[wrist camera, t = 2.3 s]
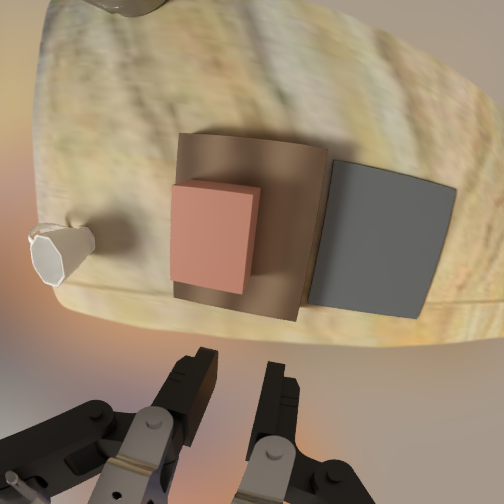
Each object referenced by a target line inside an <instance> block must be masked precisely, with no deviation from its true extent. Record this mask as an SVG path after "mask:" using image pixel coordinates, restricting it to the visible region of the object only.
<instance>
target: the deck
mask: <svg viewBox="0 0 504 504" xmlns="http://www.w3.org/2000/svg"><path fill="white" fill-rule="evenodd" d="M326 156H327V148H321V147H315V146H309V145H302V144H296V143H289V142H281V141H273V140H265V139H256V138H246V137H235V136H223V135H208V134H189V133H179V140H178V152H177V167H176V184H177V183H180V182H183V181H186V180H189V179H191V180H201V181H210V182H219V183H228V184H236V185H244V186H251V187H259V188H261V191H260V199H259V208H258V216H257V225H256V233H255V242H254V250H253V259H252V267H251V276H250V278H249V280H248V283H247V285H246V287H245V289H244V292H243V294H236V293H231V292H226V291H221V290H216V289H211V288H206V287H201V286H196V285H192V284H187V283H182V282H177V281H173V283H174V297H175V298H179V299H183V300H188V301H192V302H197V303H201V304H206V305H210V306H215V307H220V308H225V309H230V310H235V311H240V312H245V313H250V314H255V315H261V316H266V317H271V318H277V319H283V320H289V321H294V322H296V320H297V316H298V311H299V307H300V302H301V297H302V293H303V288H304V283H305V278H306V273H307V268H308V263H309V258H310V253H311V247H312V242H313V237H314V231H315V225H316V220H317V214H318V208H319V202H320V196H321V189H322V183H323V177H324V170H325V163H326Z"/></svg>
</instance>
